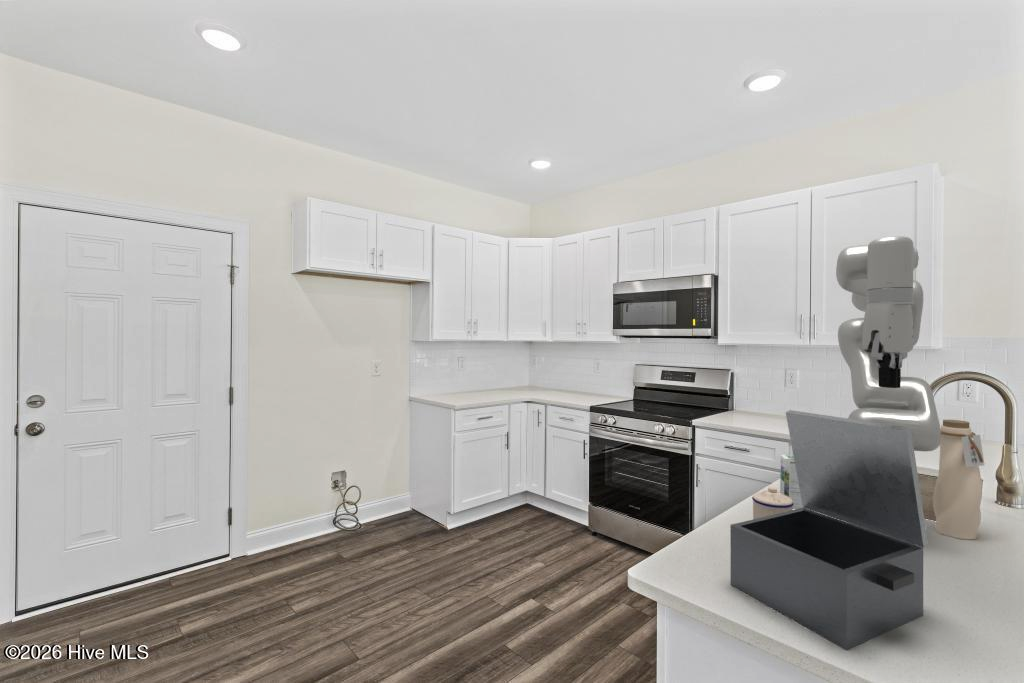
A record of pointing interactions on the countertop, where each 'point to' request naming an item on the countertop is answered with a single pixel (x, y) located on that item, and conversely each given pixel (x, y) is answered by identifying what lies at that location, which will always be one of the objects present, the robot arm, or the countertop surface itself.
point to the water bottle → (958, 481)
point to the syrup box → (790, 481)
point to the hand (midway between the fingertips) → (889, 387)
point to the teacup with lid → (770, 503)
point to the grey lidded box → (828, 574)
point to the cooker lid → (859, 473)
